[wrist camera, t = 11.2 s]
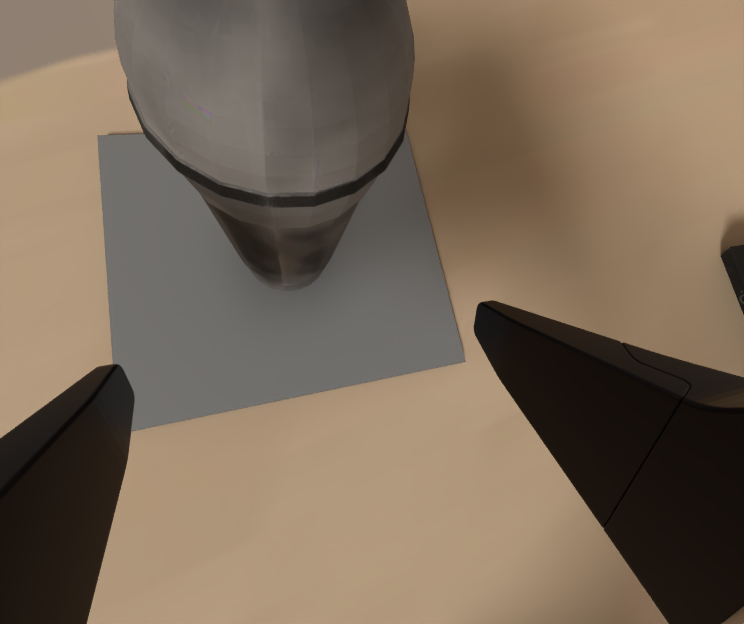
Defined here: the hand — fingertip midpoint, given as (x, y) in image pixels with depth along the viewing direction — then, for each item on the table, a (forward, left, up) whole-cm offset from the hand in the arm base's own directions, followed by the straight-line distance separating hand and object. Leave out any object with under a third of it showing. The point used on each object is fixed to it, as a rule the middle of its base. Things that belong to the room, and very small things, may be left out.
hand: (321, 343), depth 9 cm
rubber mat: (+7, +1, -11) cm, 13 cm away
